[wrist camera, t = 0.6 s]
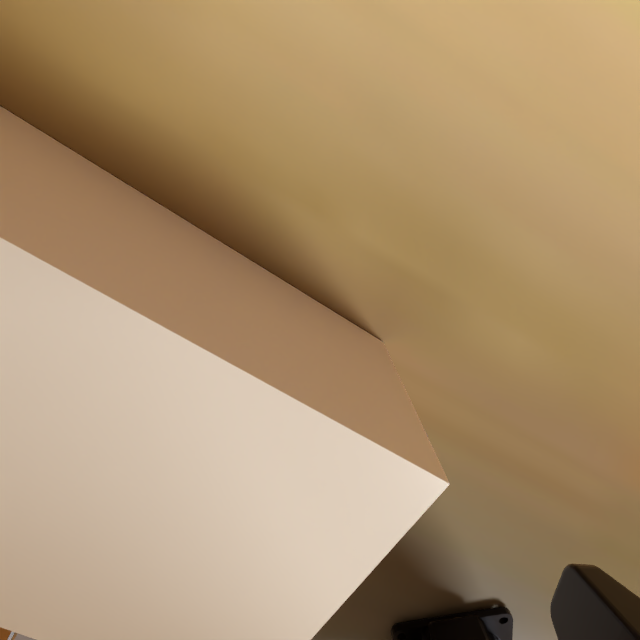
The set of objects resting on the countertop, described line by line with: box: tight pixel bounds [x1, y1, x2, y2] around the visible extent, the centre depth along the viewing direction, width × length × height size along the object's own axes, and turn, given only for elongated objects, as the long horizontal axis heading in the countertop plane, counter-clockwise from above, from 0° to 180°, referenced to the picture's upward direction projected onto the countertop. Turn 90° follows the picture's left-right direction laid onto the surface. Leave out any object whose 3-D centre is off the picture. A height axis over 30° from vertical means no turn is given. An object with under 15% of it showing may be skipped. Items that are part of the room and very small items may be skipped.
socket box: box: [0, 106, 450, 640], centre depth 17 cm, size 18×18×9 cm
